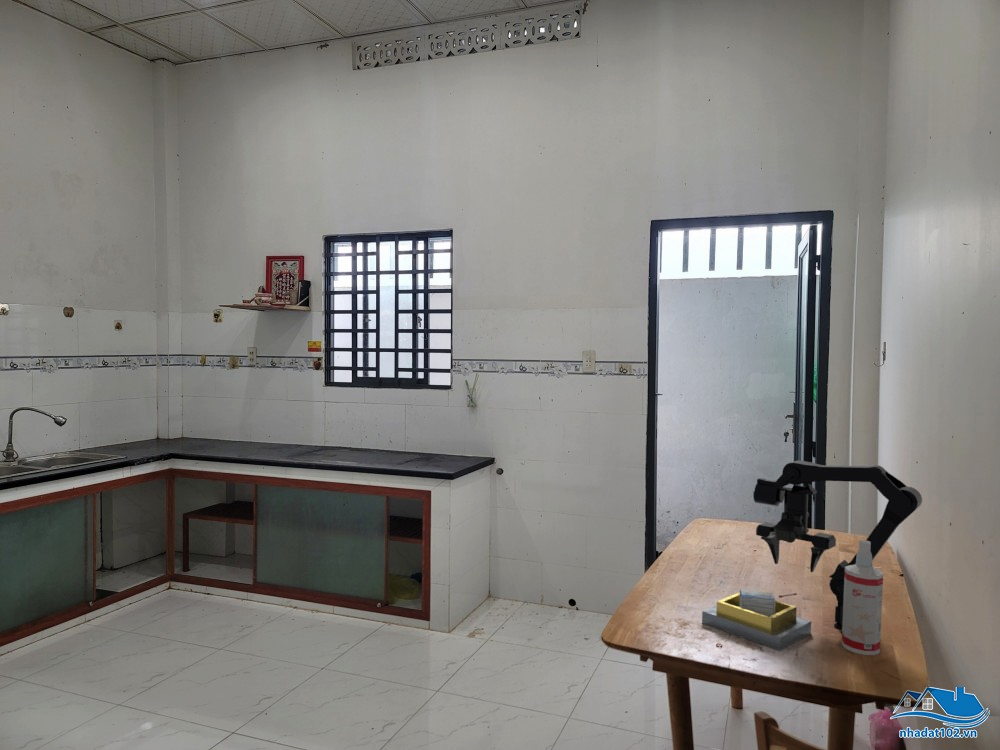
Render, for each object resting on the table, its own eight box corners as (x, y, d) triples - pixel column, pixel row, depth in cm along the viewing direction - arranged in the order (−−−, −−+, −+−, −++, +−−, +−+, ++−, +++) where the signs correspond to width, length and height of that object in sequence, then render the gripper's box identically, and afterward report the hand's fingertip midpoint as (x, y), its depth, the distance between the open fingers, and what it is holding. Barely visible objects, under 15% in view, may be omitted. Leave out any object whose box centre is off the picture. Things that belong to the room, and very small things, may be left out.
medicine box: (771, 627, 165) (773, 592, 165) (774, 634, 161) (775, 598, 161) (738, 622, 167) (739, 588, 167) (739, 629, 163) (741, 594, 163)
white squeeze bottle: (867, 641, 158) (872, 537, 158) (886, 655, 151) (891, 546, 150) (835, 640, 158) (839, 536, 157) (853, 654, 151) (857, 545, 150)
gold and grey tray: (810, 633, 162) (811, 609, 162) (779, 650, 151) (780, 624, 151) (734, 608, 177) (735, 586, 177) (701, 623, 166) (702, 599, 166)
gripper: (747, 507, 176) (746, 565, 176) (821, 520, 163) (819, 583, 163) (765, 501, 184) (764, 557, 184) (837, 513, 171) (835, 573, 171)
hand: (793, 567), depth 175 cm, fingers open, 9 cm apart
